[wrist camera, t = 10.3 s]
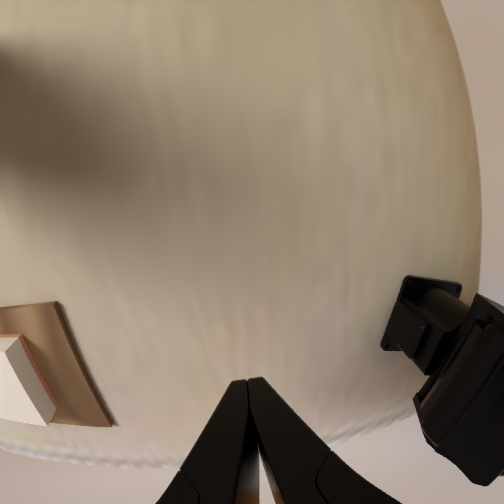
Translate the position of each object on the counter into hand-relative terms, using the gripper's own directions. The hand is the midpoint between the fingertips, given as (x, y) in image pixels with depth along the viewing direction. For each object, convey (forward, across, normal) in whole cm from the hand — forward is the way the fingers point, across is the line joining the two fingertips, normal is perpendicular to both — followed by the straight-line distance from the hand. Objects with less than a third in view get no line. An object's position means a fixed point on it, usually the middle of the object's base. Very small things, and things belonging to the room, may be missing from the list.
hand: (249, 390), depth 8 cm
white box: (+11, +19, +8) cm, 23 cm away
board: (+13, +22, +8) cm, 27 cm away
